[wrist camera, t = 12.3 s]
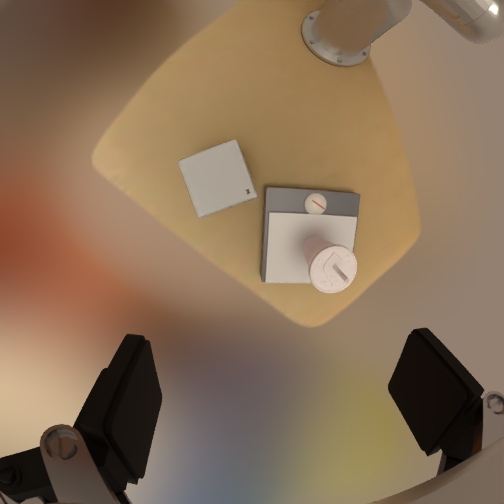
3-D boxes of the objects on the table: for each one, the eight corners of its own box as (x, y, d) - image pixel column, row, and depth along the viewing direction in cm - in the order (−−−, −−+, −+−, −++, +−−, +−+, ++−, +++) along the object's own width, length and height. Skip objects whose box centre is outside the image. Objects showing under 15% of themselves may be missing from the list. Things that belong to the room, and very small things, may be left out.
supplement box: (238, 145, 40) (238, 137, 28) (253, 189, 42) (259, 199, 30) (193, 161, 40) (175, 160, 28) (209, 204, 43) (198, 220, 31)
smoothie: (332, 225, 41) (373, 253, 27) (333, 263, 43) (370, 304, 29) (292, 230, 41) (318, 262, 27) (295, 269, 43) (319, 315, 29)
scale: (264, 185, 42) (267, 187, 39) (352, 192, 43) (362, 194, 39) (260, 274, 47) (262, 284, 43) (342, 275, 48) (349, 283, 44)
